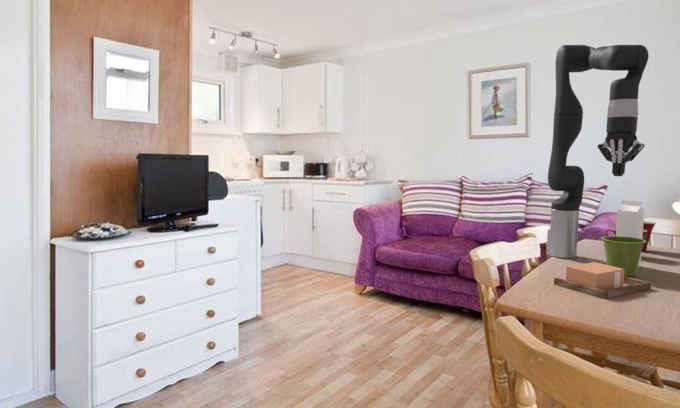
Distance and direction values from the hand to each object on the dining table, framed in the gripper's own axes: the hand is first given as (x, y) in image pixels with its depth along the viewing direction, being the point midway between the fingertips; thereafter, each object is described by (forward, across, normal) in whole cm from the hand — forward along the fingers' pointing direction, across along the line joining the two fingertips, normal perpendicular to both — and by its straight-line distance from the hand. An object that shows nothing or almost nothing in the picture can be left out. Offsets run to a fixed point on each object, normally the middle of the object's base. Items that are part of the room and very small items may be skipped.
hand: (618, 176), depth 134 cm
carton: (+31, +3, -13) cm, 34 cm away
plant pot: (+31, -2, +8) cm, 32 cm away
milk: (+31, -8, +21) cm, 38 cm away
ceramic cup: (+31, -18, +36) cm, 51 cm away
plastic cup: (+31, -22, +51) cm, 64 cm away
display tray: (+31, +3, -10) cm, 33 cm away
